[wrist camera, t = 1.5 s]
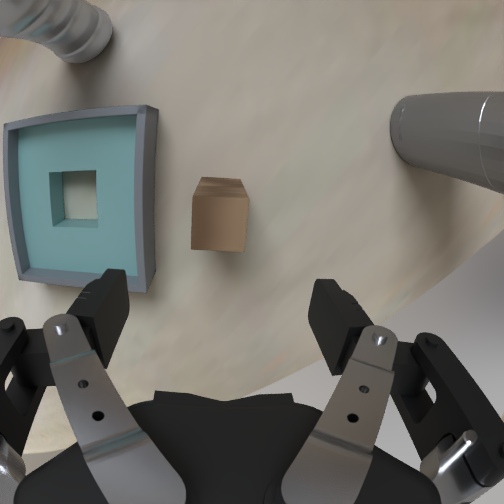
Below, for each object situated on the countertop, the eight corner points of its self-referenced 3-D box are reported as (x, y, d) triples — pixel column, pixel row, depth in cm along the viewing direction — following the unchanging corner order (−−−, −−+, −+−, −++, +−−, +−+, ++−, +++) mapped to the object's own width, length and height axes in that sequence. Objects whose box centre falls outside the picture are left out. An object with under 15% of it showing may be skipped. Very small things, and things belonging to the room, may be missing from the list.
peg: (240, 179, 30) (249, 199, 20) (237, 216, 31) (244, 252, 22) (201, 176, 29) (192, 196, 20) (199, 214, 31) (191, 249, 21)
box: (158, 109, 26) (146, 104, 21) (155, 271, 33) (146, 292, 28) (28, 122, 24) (3, 123, 19) (38, 262, 30) (19, 280, 26)
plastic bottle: (57, 56, 21) (-65, 21, 3) (92, 9, 19) (-4, -64, 1) (93, 75, 23) (-37, 35, 5) (130, 25, 21) (40, -67, 3)
